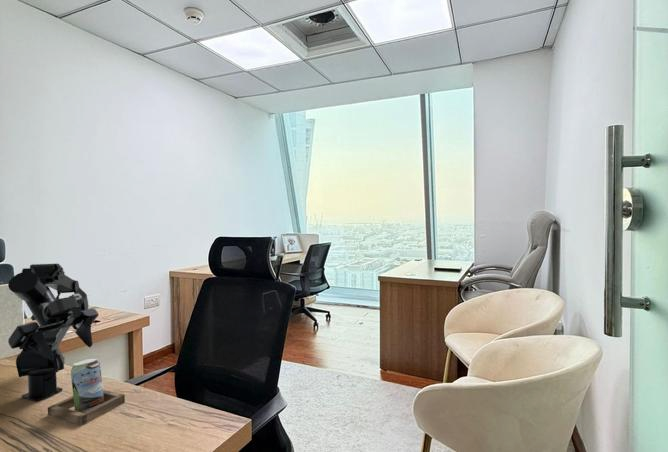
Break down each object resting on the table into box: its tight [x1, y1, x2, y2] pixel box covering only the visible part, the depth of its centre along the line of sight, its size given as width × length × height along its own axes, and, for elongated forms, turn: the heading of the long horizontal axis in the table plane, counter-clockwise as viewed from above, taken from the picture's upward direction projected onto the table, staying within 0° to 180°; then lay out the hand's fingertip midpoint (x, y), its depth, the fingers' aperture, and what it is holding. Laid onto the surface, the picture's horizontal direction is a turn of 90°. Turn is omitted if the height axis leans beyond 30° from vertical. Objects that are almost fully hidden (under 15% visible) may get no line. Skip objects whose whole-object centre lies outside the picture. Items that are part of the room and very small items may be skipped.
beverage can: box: [70, 357, 105, 413], centre depth 88 cm, size 6×7×12 cm
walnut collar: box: [47, 389, 126, 426], centre depth 87 cm, size 12×11×2 cm
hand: (73, 352), depth 89 cm, fingers open, 9 cm apart
